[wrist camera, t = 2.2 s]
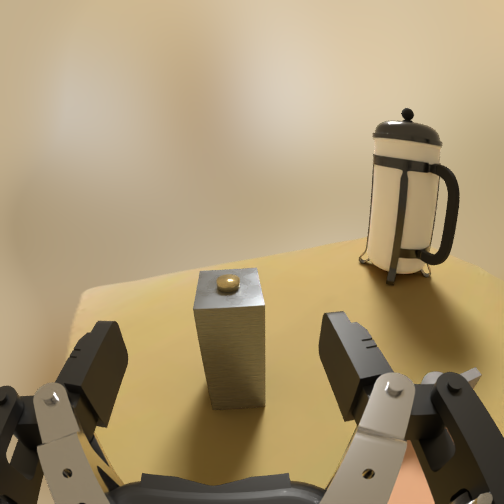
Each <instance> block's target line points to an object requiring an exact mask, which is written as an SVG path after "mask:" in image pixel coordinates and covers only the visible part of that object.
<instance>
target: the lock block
mask: <svg viewBox="0 0 504 504" xmlns="http://www.w3.org/2000/svg"><path fill="white" fill-rule="evenodd" d="M193 311H194V317H195V323H196V329H197V334H198V340H199V345H200V351H201V356H202V361H203V366H204V371H205V376H206V381H207V385H208V390H209V395H210V399H211V403H212V408H213V410H222V409H242V408H256V407H265V303H264V299H263V294H262V290H261V285H260V280H259V276H258V271H257V268H246V269H229V270H212V271H200V274H199V279H198V285H197V290H196V296H195V302H194V307H193Z"/></svg>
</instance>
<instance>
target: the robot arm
mask: <svg viewBox="0 0 504 504" xmlns="http://www.w3.org/2000/svg"><path fill="white" fill-rule="evenodd" d="M319 355H320V359H321V362H322V364H323V367H324V369H325V372H326V374H327V377H328V380H329V382H330V385H331V387H332V390H333V392H334V395H335V398H336V400H337V403H338V406H339V408H340V411H341V413H342V416H343V419H344V421H345V422H346V421H350V420H355V422H356V424H357V427H356V429H355V431H354V433H353V435H352V438H351V440H350V442H349V444H348V446H347V448H346V450H345V452H344V454H343V456H342V458H341V460H340V462H339V464H338V466H337V468H336V470H335V472H334V474H333V475H332V477H331V479H330V481H329V483H328V484H327V486H326V488H325V489H322V488H320V487H317V486H315V485H312V484H308V483H304V482H298V481H290V478H289V473H286V474H277V475H268V476H257V477H250V478H246V479H242V480H238V481H234V482H230V483H226V484H222V485H217V486H210V485H205V484H201V483H197V482H193V481H189V480H186V479H182V478H179V477H173V476H162V475H153V474H145V473H142V477H141V481H138V482H133V483H129V484H124V483H123V481H122V480H121V479H120V478H119V476H118V475H117V474H116V472H115V470H114V469H113V467H112V465H111V463H110V461H109V460H108V458H107V456H106V454H105V452H104V450H103V448H102V446H101V444H100V442H99V440H98V437H97V435H96V434H95V432H94V431H95V428H96V426H100V427H106V428H107V426H108V422H109V419H110V416H111V413H112V409H113V406H114V403H115V400H116V397H117V394H118V391H119V388H120V385H121V382H122V379H123V376H124V373H125V371H126V368H127V365H128V353H127V349H126V346H125V343H124V341H123V338H122V335H121V332H120V328H119V325H118V323H117V322H116V321H98V322H97V323H96V324H95V326H94V328H93V329H92V331H91V333H87V334H85V335H84V336H83V337H82V338H81V339H80V340H79V341H78V342H77V344H76V346H75V347H74V351H72V353H71V354H70V358H68V360H67V361H66V363H65V365H64V367H63V369H62V370H61V372H60V374H59V376H58V378H57V380H56V381H55V383H47V384H45V385H43V386H41V387H40V388H39V389H38V390H37V391H36V393H35V395H34V396H19V395H18V393H17V392H16V391H15V389H14V388H12V387H11V386H2V387H0V504H37V500H38V495H39V491H40V487H41V482H42V478H43V475H45V478H46V481H47V484H48V487H49V490H50V492H51V495H52V497H53V500H54V503H55V504H387V503H388V501H389V498H390V496H391V493H392V491H393V488H394V485H395V482H396V480H397V477H398V474H399V471H400V468H401V465H402V462H403V458H404V455H405V452H406V448H407V441H406V440H410V441H411V443H412V446H413V448H414V450H415V453H416V455H417V458H418V460H419V463H420V465H421V468H422V470H423V473H424V475H425V478H426V481H427V483H428V486H429V489H430V491H431V494H432V497H433V500H434V503H435V504H504V438H503V436H502V434H501V432H500V431H499V429H498V427H497V426H496V424H495V422H494V421H493V419H492V417H491V416H490V414H489V413H488V411H487V410H486V408H485V406H484V405H483V403H482V402H481V400H480V399H479V397H478V396H477V394H476V393H475V391H474V390H473V388H472V387H471V385H470V384H469V382H468V381H467V380H466V379H465V378H464V377H463V376H462V375H460V374H457V373H454V372H447V373H443V374H442V375H440V376H439V377H438V379H437V381H436V382H435V384H413V382H412V381H411V380H410V379H409V378H408V377H407V376H405V375H403V374H400V373H394V372H393V370H392V368H391V367H390V365H389V364H388V362H387V360H386V359H385V357H384V356H383V354H382V352H381V351H380V349H379V348H378V347H377V345H376V343H375V342H374V340H372V337H371V335H370V334H369V332H368V331H367V329H365V328H364V327H363V326H361V325H360V324H359V323H357V322H354V323H351V322H350V320H349V319H348V317H347V315H346V314H345V312H343V311H340V312H331V313H324V315H323V318H322V326H321V333H320V339H319ZM13 434H14V435H15V437H16V438H17V439H18V442H17V445H16V447H15V450H14V453H13V456H12V459H11V462H10V464H9V463H8V461H7V458H6V452H7V448H8V446H9V443H10V441H11V438H12V435H13ZM450 435H451V436H450ZM451 437H452V438H451ZM452 439H453V440H452ZM453 441H454V442H453Z"/></svg>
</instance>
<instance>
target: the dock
mask: <svg viewBox="0 0 504 504" xmlns="http://www.w3.org/2000/svg"><path fill="white" fill-rule="evenodd" d="M442 374H443V373H441V372H430V373H428V374H426V375H425V376H424V378H423V380H422V382H421V384H435V382H436V381H437V379H438V377H439V376H440V375H442ZM460 375H462V376H463V377H464V378H465V379H466V380H467V381H468V382H469V384H470V385H471V387H472V388H474V387H475V385H476V383H477V382H478V380H479V378H480V377H481V373H480V372H479V371H478V370H477V368H476V367H475V368H472V369H470V370H468V371H466V372H464V373H461V374H460ZM450 436H451V435H450ZM451 438H452V437H451ZM452 440H453V439H452ZM406 441H407V448H406V452H405V455H404V458H403V462H402V465H401V468H400V471H399V474H398V477H397V480H396V482H395V485H394V488H393V491H392V493H391V496H390V498H389V501H388V503H387V504H435V503H434V500H433V497H432V494H431V491H430V489H429V486H428V483H427V481H426V478H425V475H424V473H423V470H422V468H421V465H420V463H419V460H418V458H417V455H416V453H415V450H414V448H413V446H412V443H411V441H410V440H406ZM453 442H454V441H453Z"/></svg>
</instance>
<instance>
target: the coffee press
mask: <svg viewBox="0 0 504 504" xmlns="http://www.w3.org/2000/svg"><path fill="white" fill-rule="evenodd" d="M401 114H402V116H403V118H404V119H405V120H403V121H385V122H382V123H380V124H379V125H378V126H377V127H376V130H375V133H373V137H374V140H375V154H373V177H372V193H371V207H370V218H369V229H368V238H367V245H366V250H367V248H368V250H367V255H368V259H367V260H362V259H361V256H362V255H363V254H364V253H365V252H366V250H365V252H364V253H363V254H361V256H360V257H359V261H360V262H361V263H365V262H367V261H369V260H370V261H371V262H372V263H373V264H374V265H376V266H377V267H379V268H381V269H383V270H386V271H389V272H388V277H387V281H386V284H391V285H393V284H394V280H395V276H396V273H399V274H410V273H415V272H418V271H421V272H422V274H423V275H424V276H425V277H429V276H430V274H431V270H430V267H429V265H428V264H430V265H438V264H441V263H443V262H444V261H445V260H446V259H447V258H448V256H449V254H450V251H451V248H452V244H453V239H454V234H455V229H456V222H457V216H458V209H459V186H458V183H457V180H456V177H455V175H454V174H453V173H452V171H450V169H448V168H447V167H445V166H442V165H441V164H440V163H439V161H440V149H441V147H442V142H440V138H439V135H438V133H437V132H436V131H435V130H434V129H433V128H431V127H429V126H426V125H423V124H418V123H414V122H412V121H411V119H412V118H413V116H414V114H413V111H412V110H411V109H408V108H405V109H404V110H403V111H402V113H401ZM438 176H439V178H438ZM440 177H441V178H442V179H444V181H445V183H446V186H447V190H448V202H447V210H446V217H445V223H444V230H443V235H442V241H441V245H440V248H439V250H438V252H437V253H436V254H435V255H434V254H431V253H429V251H430V246H431V240H432V235H433V229H434V222H435V215H436V207H437V200H438V191H439V179H440ZM437 188H438V189H437ZM436 197H437V198H436ZM435 206H436V207H435ZM432 227H433V228H432ZM431 233H432V234H431ZM430 239H431V240H430ZM429 244H430V245H429ZM425 263H427V266H428V269H429V271H430V272H429V273H428V274H426V273H424V271H423V270H422V268H423V267H424V266H425Z"/></svg>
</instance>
